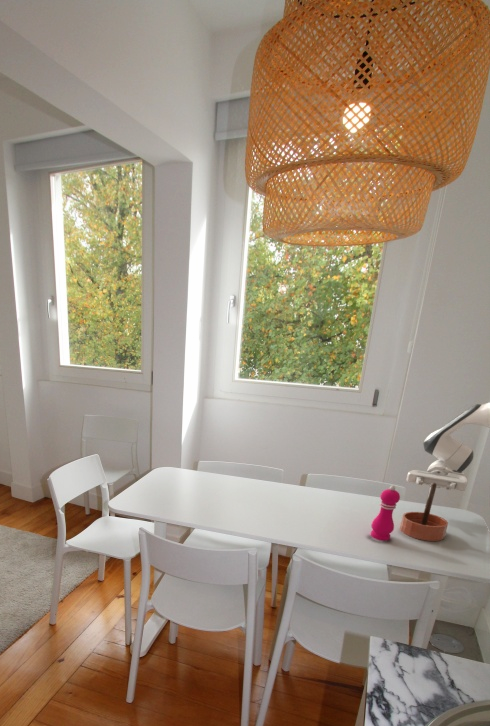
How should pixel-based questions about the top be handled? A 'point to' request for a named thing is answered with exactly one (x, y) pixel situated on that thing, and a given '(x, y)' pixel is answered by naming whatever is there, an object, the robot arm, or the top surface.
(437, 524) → the bowl
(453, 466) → the robot arm
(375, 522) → the pepper mill
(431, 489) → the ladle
